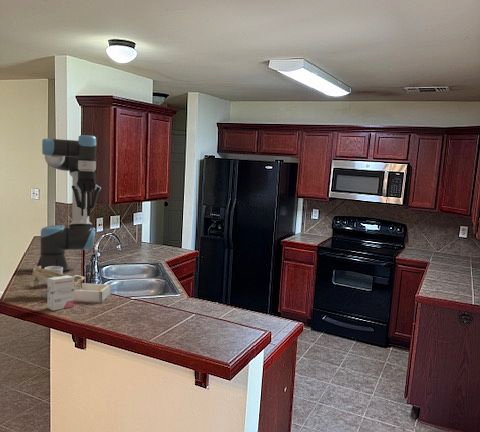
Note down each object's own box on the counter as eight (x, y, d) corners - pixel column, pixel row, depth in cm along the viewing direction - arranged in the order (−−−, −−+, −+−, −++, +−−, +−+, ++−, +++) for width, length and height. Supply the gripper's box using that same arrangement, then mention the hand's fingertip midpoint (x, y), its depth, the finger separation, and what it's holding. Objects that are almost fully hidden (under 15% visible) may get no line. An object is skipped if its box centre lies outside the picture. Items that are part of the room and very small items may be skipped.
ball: (106, 293, 188) (99, 296, 188) (102, 286, 188) (96, 290, 188) (104, 295, 185) (97, 299, 185) (100, 288, 184) (93, 292, 185)
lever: (45, 277, 198) (49, 261, 198) (82, 288, 198) (86, 272, 198) (29, 286, 183) (33, 268, 183) (69, 297, 183) (73, 279, 183)
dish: (82, 293, 192) (82, 283, 192) (110, 294, 192) (111, 284, 191) (71, 301, 180) (71, 290, 180) (101, 302, 180) (102, 291, 180)
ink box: (68, 304, 176) (69, 274, 175) (74, 306, 173) (74, 276, 172) (46, 308, 170) (46, 277, 169) (52, 311, 167) (52, 279, 166)
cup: (52, 289, 197) (52, 271, 196) (36, 287, 198) (36, 269, 197) (66, 283, 207) (66, 266, 206) (50, 282, 209) (51, 265, 208)
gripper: (68, 169, 195) (68, 223, 197) (98, 171, 195) (97, 225, 197) (75, 170, 202) (74, 221, 205) (104, 171, 202) (103, 223, 204)
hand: (85, 223), depth 201 cm, fingers closed
